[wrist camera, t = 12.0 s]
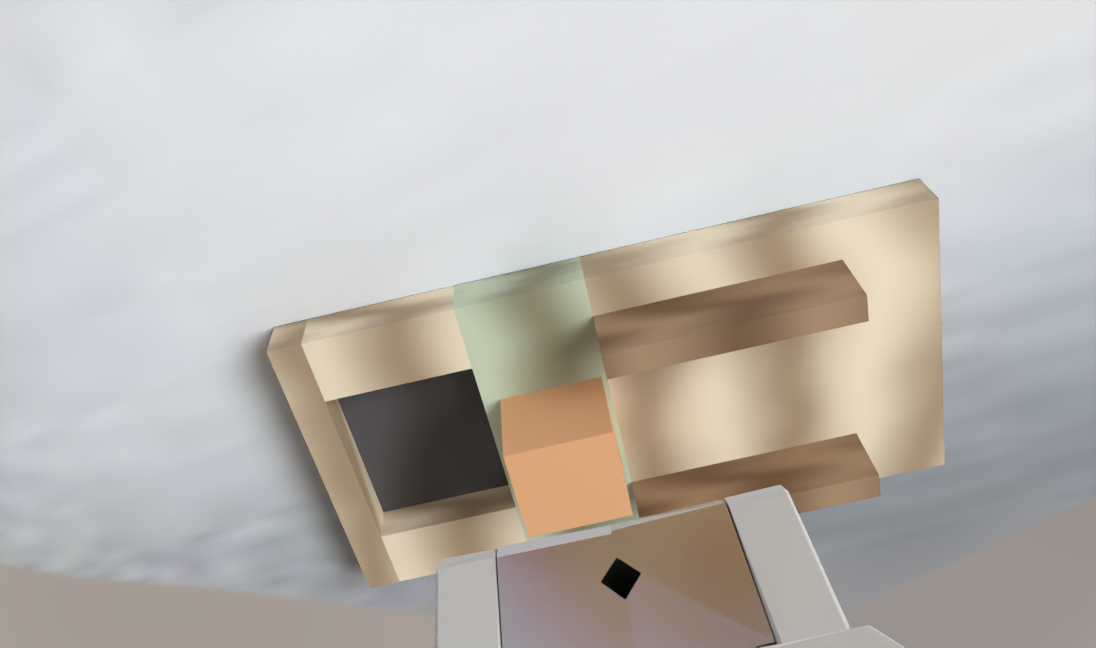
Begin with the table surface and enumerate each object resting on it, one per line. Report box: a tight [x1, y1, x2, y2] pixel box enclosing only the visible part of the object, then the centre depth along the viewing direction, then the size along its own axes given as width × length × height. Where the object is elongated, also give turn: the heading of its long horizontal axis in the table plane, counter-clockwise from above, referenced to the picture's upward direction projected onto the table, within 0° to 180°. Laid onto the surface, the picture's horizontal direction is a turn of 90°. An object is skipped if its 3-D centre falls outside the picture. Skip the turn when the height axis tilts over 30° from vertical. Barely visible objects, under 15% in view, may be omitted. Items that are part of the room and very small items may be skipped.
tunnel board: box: [266, 179, 944, 588], centre depth 45 cm, size 28×14×5 cm, turn 103°
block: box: [500, 377, 633, 538], centre depth 44 cm, size 4×4×4 cm
